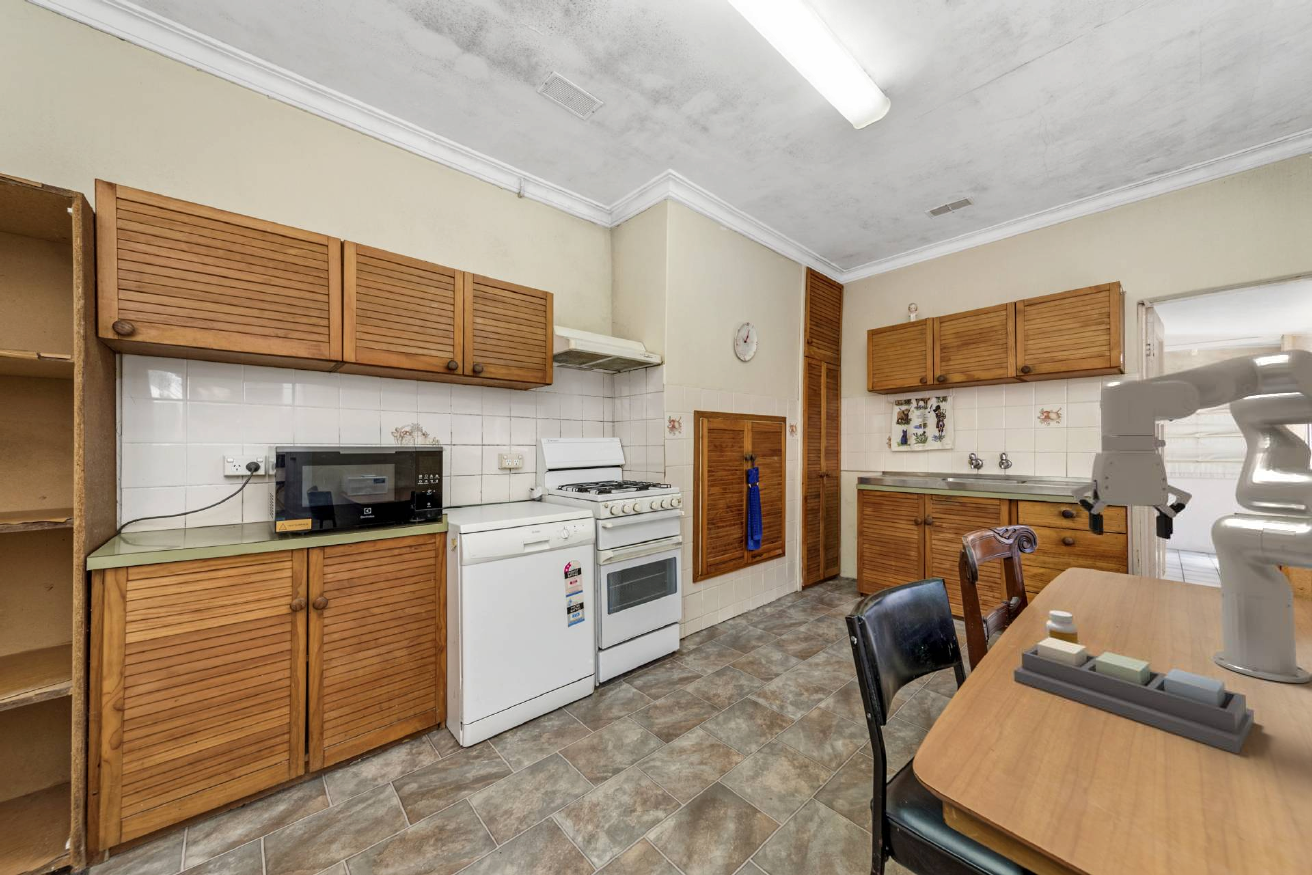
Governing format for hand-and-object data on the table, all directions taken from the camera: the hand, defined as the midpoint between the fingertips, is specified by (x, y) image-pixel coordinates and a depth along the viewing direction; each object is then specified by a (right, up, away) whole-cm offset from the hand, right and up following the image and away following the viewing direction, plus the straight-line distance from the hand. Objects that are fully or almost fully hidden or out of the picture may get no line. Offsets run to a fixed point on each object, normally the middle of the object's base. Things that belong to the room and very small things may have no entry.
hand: (1129, 536), depth 93 cm
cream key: (-9, -26, +5) cm, 28 cm away
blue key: (+1, -25, -11) cm, 27 cm away
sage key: (-4, -25, -3) cm, 26 cm away
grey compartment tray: (-4, -29, -3) cm, 30 cm away
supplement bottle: (0, -30, +15) cm, 33 cm away
